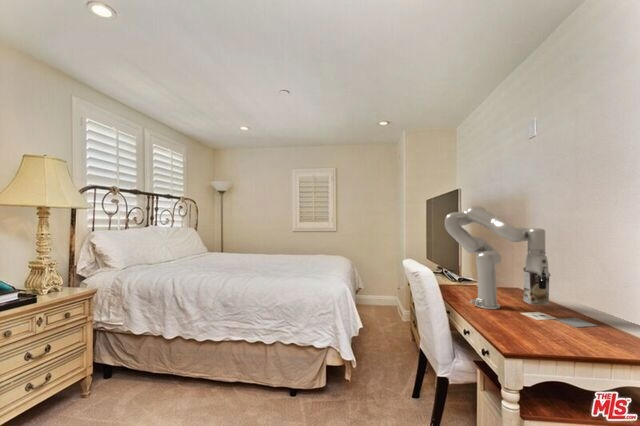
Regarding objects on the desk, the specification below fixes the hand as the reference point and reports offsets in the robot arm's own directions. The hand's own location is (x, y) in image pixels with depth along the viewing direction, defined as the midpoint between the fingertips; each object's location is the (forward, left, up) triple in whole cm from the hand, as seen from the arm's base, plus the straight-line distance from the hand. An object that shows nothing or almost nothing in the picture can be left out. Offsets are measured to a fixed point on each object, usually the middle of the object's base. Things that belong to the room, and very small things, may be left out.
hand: (536, 286), depth 159 cm
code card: (0, -1, -15) cm, 15 cm away
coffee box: (0, 0, -9) cm, 9 cm away
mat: (+9, -13, -15) cm, 22 cm away
